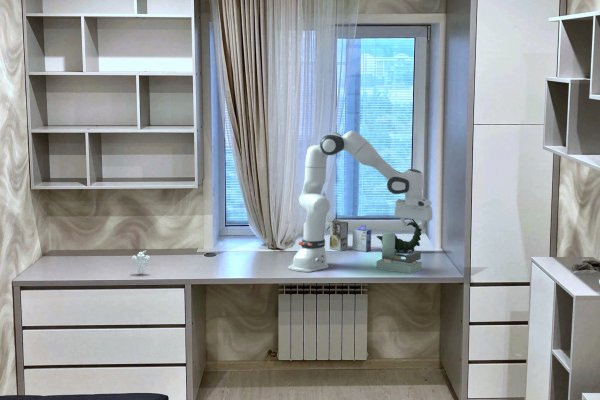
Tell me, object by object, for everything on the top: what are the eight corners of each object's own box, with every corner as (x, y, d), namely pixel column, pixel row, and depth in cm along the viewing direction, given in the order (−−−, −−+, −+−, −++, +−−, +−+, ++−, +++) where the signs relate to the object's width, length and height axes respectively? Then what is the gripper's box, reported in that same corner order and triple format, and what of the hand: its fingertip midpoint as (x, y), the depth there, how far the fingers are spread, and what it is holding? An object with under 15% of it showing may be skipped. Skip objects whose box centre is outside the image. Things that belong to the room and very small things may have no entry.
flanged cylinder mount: (410, 274, 393) (411, 239, 390) (376, 268, 404) (377, 234, 401) (421, 269, 403) (422, 235, 400) (387, 263, 414) (388, 230, 411)
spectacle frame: (409, 263, 393) (409, 255, 392) (381, 258, 402) (381, 251, 401) (420, 258, 402) (420, 251, 402) (392, 254, 412) (393, 247, 411)
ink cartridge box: (371, 250, 445) (372, 225, 442) (366, 252, 440) (366, 227, 438) (357, 247, 451) (357, 223, 448) (351, 249, 446) (352, 225, 444)
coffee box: (348, 249, 446) (348, 222, 444) (340, 251, 442) (340, 223, 439) (336, 246, 453) (337, 219, 450) (329, 248, 449) (329, 221, 446)
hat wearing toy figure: (150, 272, 393) (150, 249, 391) (149, 274, 389) (148, 251, 387) (132, 272, 392) (132, 249, 390) (131, 274, 389) (130, 251, 387)
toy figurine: (417, 253, 445) (374, 248, 446) (421, 221, 442) (378, 216, 443) (419, 257, 436) (375, 252, 437) (423, 224, 433) (378, 219, 434)
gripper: (392, 199, 397) (391, 225, 399) (428, 203, 385) (427, 230, 387) (398, 197, 402) (397, 223, 404) (434, 202, 390) (433, 229, 392)
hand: (412, 227), depth 396 cm, fingers open, 8 cm apart
